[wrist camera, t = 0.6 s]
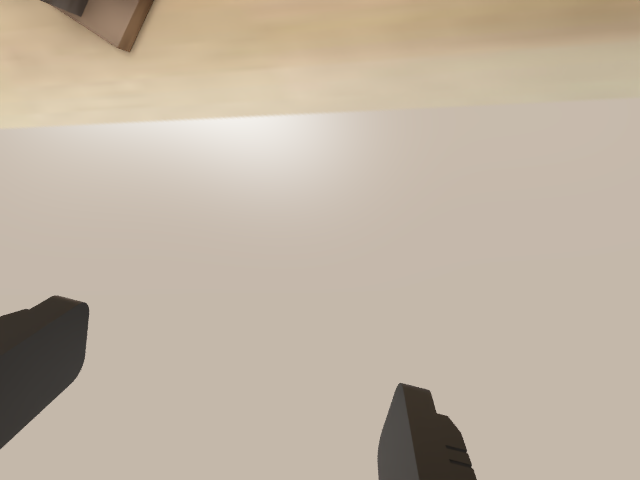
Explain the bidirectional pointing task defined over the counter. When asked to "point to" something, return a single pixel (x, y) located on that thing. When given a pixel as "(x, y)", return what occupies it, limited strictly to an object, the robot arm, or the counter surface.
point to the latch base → (108, 17)
